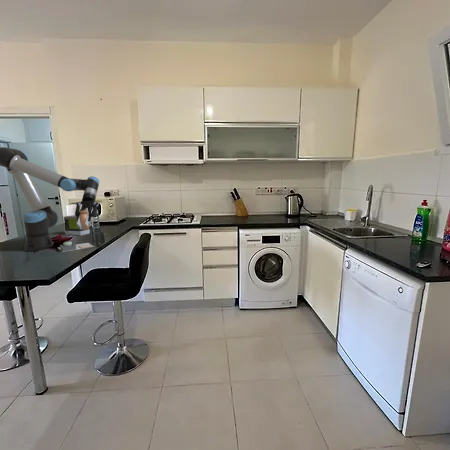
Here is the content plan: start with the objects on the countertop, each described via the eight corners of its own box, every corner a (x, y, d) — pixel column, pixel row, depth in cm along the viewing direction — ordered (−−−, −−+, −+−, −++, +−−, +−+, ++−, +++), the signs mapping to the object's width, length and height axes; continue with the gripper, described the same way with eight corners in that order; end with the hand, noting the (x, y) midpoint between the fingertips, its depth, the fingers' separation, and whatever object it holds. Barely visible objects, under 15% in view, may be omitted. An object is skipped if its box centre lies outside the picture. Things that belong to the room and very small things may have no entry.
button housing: (63, 251, 157) (62, 247, 157) (60, 249, 162) (60, 245, 162) (76, 249, 162) (75, 245, 162) (73, 247, 167) (72, 243, 167)
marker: (82, 230, 164) (80, 211, 162) (80, 229, 167) (78, 210, 165) (90, 229, 167) (88, 210, 165) (87, 228, 170) (86, 210, 168)
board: (62, 253, 157) (62, 251, 157) (57, 249, 167) (57, 247, 167) (94, 248, 169) (94, 246, 169) (88, 244, 179) (88, 242, 179)
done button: (64, 247, 159) (64, 243, 158) (63, 246, 162) (62, 242, 162) (73, 246, 162) (72, 242, 161) (71, 245, 165) (70, 241, 165)
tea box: (90, 233, 215) (88, 215, 212) (80, 235, 205) (78, 217, 203) (75, 232, 219) (73, 214, 216) (65, 234, 209) (63, 216, 207)
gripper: (104, 199, 180) (98, 228, 167) (78, 200, 178) (70, 229, 165) (101, 192, 174) (95, 221, 161) (73, 192, 172) (65, 222, 159)
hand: (82, 225), depth 163 cm, fingers closed on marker, 4 cm apart
